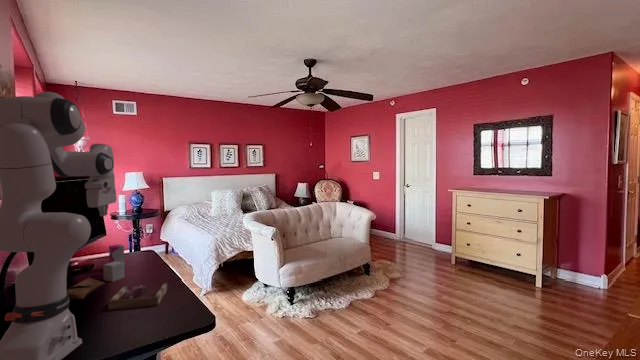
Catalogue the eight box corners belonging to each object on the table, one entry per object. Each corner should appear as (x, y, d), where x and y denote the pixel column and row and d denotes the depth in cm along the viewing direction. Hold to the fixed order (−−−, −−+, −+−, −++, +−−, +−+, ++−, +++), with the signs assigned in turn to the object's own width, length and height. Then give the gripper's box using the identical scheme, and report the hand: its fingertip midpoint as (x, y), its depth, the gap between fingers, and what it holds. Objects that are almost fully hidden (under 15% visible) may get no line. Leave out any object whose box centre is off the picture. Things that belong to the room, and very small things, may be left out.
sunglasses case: (84, 298, 129) (74, 284, 129) (67, 308, 129) (57, 294, 128) (107, 282, 147) (98, 270, 146) (93, 291, 147) (84, 278, 146)
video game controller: (122, 310, 122) (128, 295, 121) (114, 303, 123) (120, 288, 122) (145, 300, 131) (150, 285, 130) (137, 294, 133) (142, 279, 131)
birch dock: (157, 305, 123) (157, 297, 123) (108, 309, 119) (108, 301, 119) (167, 290, 138) (167, 283, 138) (124, 293, 134) (123, 286, 134)
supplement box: (122, 265, 173) (121, 243, 172) (125, 268, 168) (124, 245, 168) (109, 267, 169) (108, 245, 168) (111, 270, 164) (111, 247, 164)
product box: (115, 276, 156) (115, 260, 156) (125, 277, 154) (124, 262, 154) (103, 280, 150) (102, 264, 150) (112, 281, 148) (112, 265, 148)
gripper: (104, 182, 148) (105, 212, 149) (82, 184, 128) (83, 219, 129) (119, 181, 150) (120, 212, 150) (100, 184, 130) (101, 219, 130)
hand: (103, 215), depth 139 cm, fingers closed
